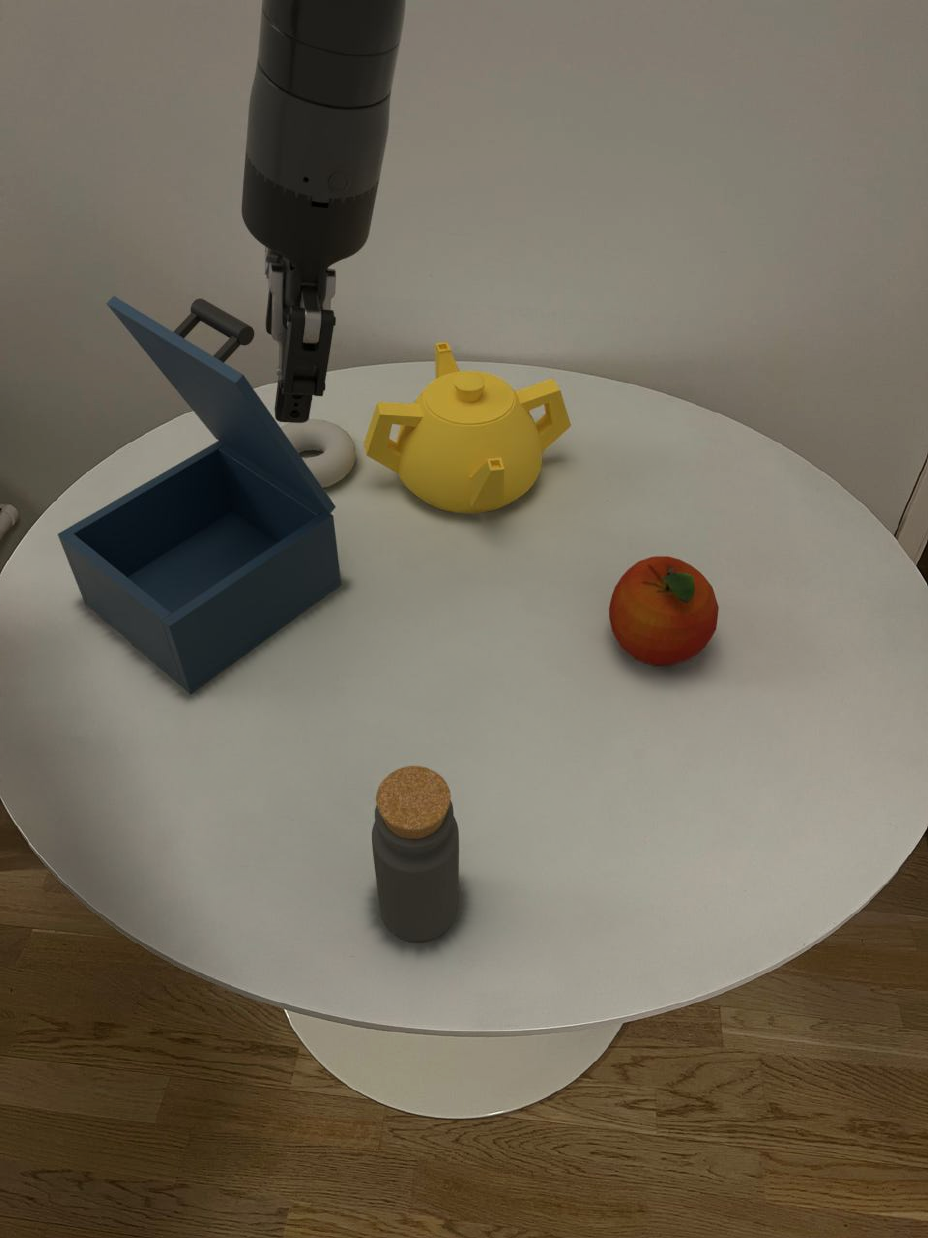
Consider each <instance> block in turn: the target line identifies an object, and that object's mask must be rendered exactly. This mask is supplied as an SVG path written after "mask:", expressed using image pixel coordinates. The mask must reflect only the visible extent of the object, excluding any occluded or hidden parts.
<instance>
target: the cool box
mask: <svg viewBox="0 0 928 1238" xmlns="http://www.w3.org/2000/svg"><path fill="white" fill-rule="evenodd" d="M57 537H58V539H59V542H60V545H61V547H62V550H63V552H64V555H65V557H66V560H67V562H68V565H69V567H70V569H71V573H72V574H73V577H74V579H75V582H76V584H77V587H78V589H79V592H80V595H81V597H82V600H83V602H84V605H85V606H87V607H88V608H89V609H90V610H92V611H93V612H94V613H95V614H96V615H97V616H99V617H100V618H101V619H102V620H103V621H104V622H105V623H107V624H108V625H109V626H110V627H111V628H112V629H113V630H115V631H116V632H117V633H119V635H121V636H122V637H123V638H124V639H125V640H126V641H128V642H129V644H131V645H132V646H133V647H135V648H136V649H137V650H138V651H139V652H141V653H142V654H143V655H144V656H145V657H146V658H148V659H149V660H150V661H151V662H152V663H153V664H155V666H156V667H158V668H159V669H160V670H162V671H163V672H164V673H165V674H166V675H167V676H169V678H171V679H172V680H173V681H174V682H175V683H176V684H178V685H179V686H180V687H181V688H182V689H184V690H185V691H186V692H187V693H188V694H189V695H193V694H194V693H196V691H198V690H199V689H201V688H202V687H203V686H205V685H206V684H207V683H209V682H210V681H212V680H213V679H214V678H217V676H219V675H220V674H222V673H223V672H225V670H227V669H228V668H230V667H231V666H233V665H234V664H236V662H238V661H239V660H240V659H242V658H243V657H244V656H246V655H248V654H249V653H250V652H251V651H253V650H254V649H256V648H257V647H258V646H260V645H261V644H263V643H264V642H265V641H266V640H268V639H270V638H271V637H272V636H273V635H275V634H276V633H278V632H279V631H280V630H282V629H283V628H284V627H286V626H288V625H289V624H290V623H291V622H292V621H294V620H295V619H297V618H298V617H300V616H301V615H302V614H303V613H305V612H307V611H308V610H309V609H310V608H312V607H313V606H315V605H316V604H317V603H319V602H320V601H321V600H323V599H325V598H326V597H327V596H328V595H330V594H331V593H333V592H334V591H335V590H337V589H339V587H341V586H342V578H341V570H340V561H339V551H338V543H337V536H336V527H335V519H334V514H332V512H331V513H330V514H328V513H327V512H325V511H324V510H322V509H321V508H319V507H318V506H316V505H315V504H313V503H312V502H310V501H309V500H307V499H306V498H304V497H303V496H301V495H300V494H298V493H297V492H295V491H294V490H292V489H291V488H289V487H288V486H286V485H285V484H283V483H282V482H280V481H279V480H277V479H276V478H274V477H273V476H271V475H270V474H268V473H267V472H265V471H264V470H262V469H261V468H259V467H258V466H256V465H255V464H253V463H252V462H250V461H249V460H247V459H246V458H244V457H243V456H241V455H240V454H238V453H237V452H235V451H234V450H232V449H231V448H229V447H228V446H226V445H225V444H223V443H222V442H220V441H219V440H217V441H215V442H214V443H212V444H211V445H208V446H207V447H205V448H203V449H201V450H200V451H198V452H196V453H195V454H193V455H191V456H190V457H187V458H185V460H183V461H181V462H179V463H177V464H176V465H174V466H172V467H171V468H169V469H167V470H166V471H163V472H162V473H160V474H158V475H156V476H155V477H153V478H151V479H150V480H148V481H146V482H144V483H143V484H141V485H139V486H138V487H136V488H134V489H132V490H130V491H129V492H127V493H126V494H124V495H122V496H121V497H118V498H117V499H115V500H114V501H112V502H110V503H108V504H107V505H105V506H104V507H102V508H100V509H98V510H96V511H94V512H93V513H91V514H89V515H88V516H86V517H84V518H83V519H81V520H79V521H77V522H76V523H74V524H72V525H71V526H69V527H66V528H65V529H64V530H62V531H60V532H59V533H57Z"/></svg>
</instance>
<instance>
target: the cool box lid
mask: <svg viewBox="0 0 928 1238" xmlns="http://www.w3.org/2000/svg"><path fill="white" fill-rule="evenodd" d="M106 305H107V307H108V308H109V309H110V310H111V311H112V312H113V314H114V315H115V316H116V318H118V320H119V322H121V324H122V325H123V326H124V327H125V329H126V330H127V331H128V332H129V333H130V334H131V336H132V337H133V339H134V340H135V341H136V342H137V344H138V345H139V346H140V347H141V348H142V350H143V351H144V352H145V353H146V354H147V356H148V357H149V358H150V359H151V361H152V362H153V363H154V364H155V366H156V367H157V368H158V369H159V370H160V372H161V373H162V374H163V376H164V377H165V378H166V379H167V380H168V381H169V383H170V384H171V386H172V387H173V388H174V389H175V390H176V392H177V393H178V394H179V395H180V396H181V398H182V399H183V400H184V401H185V403H186V404H187V405H188V406H189V407H190V409H191V410H192V411H193V412H194V414H195V415H196V416H197V417H198V419H199V420H200V421H201V422H202V424H203V425H204V426H205V427H206V428H207V430H208V431H209V432H210V433H211V434H212V436H213V437H214V438H215V439H216V440H217V441H220V442H222V443H223V444H225V445H226V446H228V447H229V448H231V449H232V450H234V451H235V452H237V453H238V454H240V455H241V456H243V457H244V458H246V459H247V460H249V461H250V462H252V463H253V464H255V465H256V466H258V467H259V468H261V469H262V470H264V471H265V472H267V473H268V474H270V475H271V476H273V477H274V478H276V479H277V480H279V481H280V482H282V483H283V484H285V485H286V486H288V487H289V488H291V489H292V490H294V491H295V492H297V493H298V494H300V495H301V496H303V497H304V498H306V499H307V500H309V501H310V502H312V503H313V504H315V505H316V506H318V507H319V508H321V509H322V510H324V511H325V512H327V513H328V514H330V513H331V514H332V512H333V511H334V510H335V509H336V508H337V506H336V505H335V503H334V502H333V501H332V499H331V498H330V496H329V494H328V493H327V492H326V490H325V489H324V488H322V486H321V485H320V484H319V482H318V481H317V479H316V478H315V476H314V475H313V474H312V472H311V471H310V469H309V468H308V466H307V465H306V463H305V462H304V461H303V459H302V458H303V457H302V456H301V455H300V453H298V452H297V451H296V449H295V448H294V446H293V445H292V443H291V442H290V441H289V439H288V438H287V436H286V435H285V433H284V432H283V431H282V429H281V428H280V427H281V426H280V425H279V423H278V421H277V420H276V418H275V417H274V416H273V415H272V413H271V412H270V410H269V409H268V408H267V407H266V405H265V403H264V402H263V400H262V399H261V398H260V396H259V395H258V393H257V392H256V391H255V389H254V388H253V386H252V384H251V383H250V382H249V380H248V379H247V378H246V376H245V374H243V373H242V372H240V371H238V370H236V369H235V368H233V367H231V366H230V365H228V364H226V363H225V362H227V360H228V359H230V357H231V356H232V355H233V354H234V353H235V352H236V351H237V350H238V348H239V347H240V346H245V347H246V346H248V345H250V344H251V343H252V342H253V341H254V338H255V330H254V328H253V326H251V325H249V324H248V323H246V322H244V321H243V320H240V319H239V318H237V317H235V316H234V315H232V314H230V313H228V312H227V311H225V310H223V309H221V308H219V307H218V306H216V305H214V304H213V303H210V302H209V301H207V300H206V299H204V298H197V299H195V300H194V301H193V302H192V303H191V304H190V305H191V306H190V313H189V314H188V315H187V316H186V318H185V319H184V320H182V322H181V323H179V325H178V326H177V327H176V328H175V329H174V330H171V329H169V328H168V327H166V326H164V325H163V324H161V323H159V322H158V321H156V320H155V319H153V318H151V317H149V316H148V315H146V314H144V313H143V312H141V311H139V310H138V309H137V308H135V307H133V306H131V305H130V304H128V303H127V302H125V301H124V300H122V299H119V298H118V297H117V296H115V295H113V296H112V297H111V298H110V299H109V300H108V301H107V302H106ZM200 322H201V323H204V324H205V325H206V326H208V327H210V328H212V329H214V330H215V331H216V332H219V333H220V334H222V335H223V336H225V337H227V338H228V340H226V341H225V343H223V345H222V346H221V347H220V348H219V349H218V350H217V351H216V352H215V353H214V354H213V355H212V354H210V353H209V352H207V351H205V350H204V349H202V348H201V347H199V346H197V345H195V344H194V343H192V342H191V341H189V340H187V339H186V338H187V336H189V334H190V333H191V332H192V331H193V330H194V328H196V326H198V324H199V323H200Z"/></svg>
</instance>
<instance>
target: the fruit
mask: <svg viewBox="0 0 928 1238" xmlns="http://www.w3.org/2000/svg"><path fill="white" fill-rule="evenodd" d="M719 609H720V607H719V604H718V600H717V597H716V594H715V590H714V588H713V586H712V584H711V583H710V582H709V580H708V579H707V578H706V577H705V576H704V574H703V573H702V572H701V571H699V570H698V569H697V568H695V567H694V566H693V565H692V564H689V563H687V562H686V561H684V560H681V559H679V558H675V557H672V556H666V555H665V556H664V555H663V556H662V555H660V556H659V555H658V556H657V555H656V556H651V557H647V558H645V559H642V560H639V561H637V562H636V563H634V564H633V565H632V566H630V567H629V568H628V569H627V570H626V571H625V572H624V573H623V574H622V576H621V577H620V578H619V580H618V582H617V583H616V585H615V586H614V589H613V592H612V594H611V598H610V601H609V606H608V619H609V623H610V628H611V632H612V634H613V636H614V638H615V640H616V641H617V643H618V645H619V646H620V647H621V649H622V650H624V651H625V652H626V653H627V654H629V656H630V657H632V658H634V660H637V661H639V662H641V663H644V664H646V665H651V666H657V667H662V666H663V667H664V666H673V665H676V664H679V663H682V662H683V663H684V662H686V661H689V660H691V659H692V658H693V657H695V656H696V655H698V654H699V653H700V652H701V651H704V649H705V648H706V647H707V646H708V644H709V643H710V641H711V640H712V638H713V636H714V634H715V633H716V630H717V628H718V627H717V626H718V620H719Z"/></svg>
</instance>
